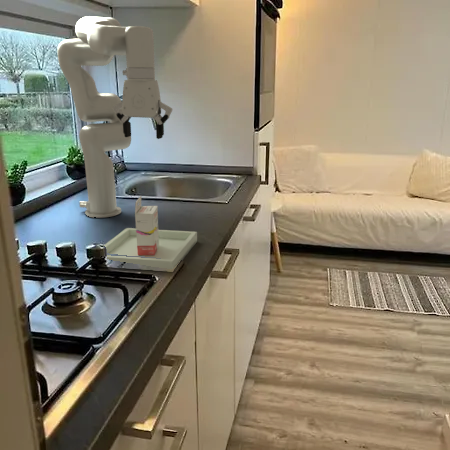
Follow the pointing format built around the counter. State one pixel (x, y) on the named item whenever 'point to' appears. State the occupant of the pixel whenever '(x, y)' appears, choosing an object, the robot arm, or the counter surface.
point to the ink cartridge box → (146, 228)
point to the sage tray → (167, 250)
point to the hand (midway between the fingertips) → (143, 137)
